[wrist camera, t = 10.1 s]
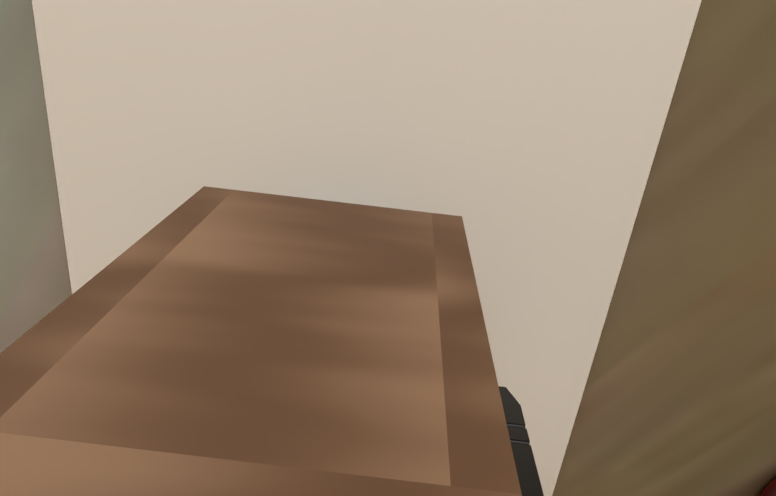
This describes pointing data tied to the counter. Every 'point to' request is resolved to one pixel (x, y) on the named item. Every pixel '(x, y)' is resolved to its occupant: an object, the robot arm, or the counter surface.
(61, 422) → the brown wooden block
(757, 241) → the counter surface
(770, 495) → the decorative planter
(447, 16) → the post board
